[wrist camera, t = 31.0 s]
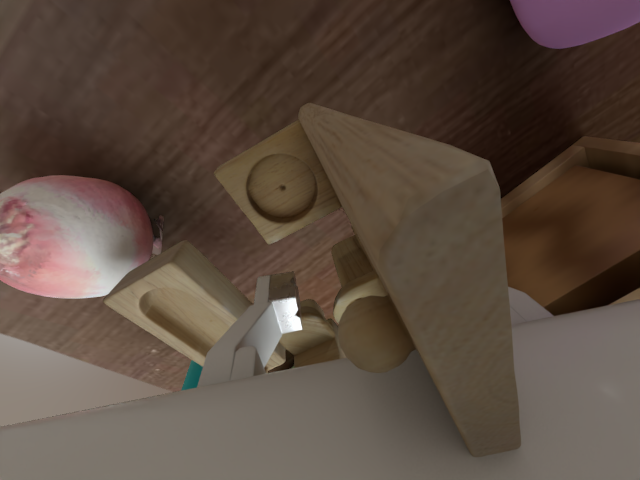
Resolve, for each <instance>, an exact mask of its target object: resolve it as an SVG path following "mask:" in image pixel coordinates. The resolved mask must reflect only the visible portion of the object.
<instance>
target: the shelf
mask: <svg viewBox="0 0 640 480" xmlns="http://www.w3.org/2000/svg"><path fill="white" fill-rule="evenodd" d="M501 209H502V222H503V236H504V248H505V259H506V270H507V281H508V287H511V288H514V289H516V290H519V291H522V292H524V293H526V294H527V295H528V296H530V297H531V298H532V299H533V300H535V301H536V302H537V303H538V304H540V305H541V306H542V307H543V308H545V309H546V310H547V311H548V312H550V313H551V314H552V315H553V316H557V315H562V314H567V313H572V312H577V311H582V310H587V309H592V308H597V307H602V306H607V305H612V304H617V303H622V302H627V301H632V300H637V299H640V143H637V142H629V141H621V140H613V139H605V138H596V137H588V136H583V137H582V138H581V139H579V140H578V141H577V142H575V143H574V144H573V145H572V146H570V147H569V148H568V149H566V150H565V151H564V152H562V153H561V154H560V155H558V156H557V157H556V158H554V159H553V160H552V161H550V162H549V163H548V164H546V165H545V166H544V167H543V168H541V169H540V170H539V171H537V172H536V173H535V174H533V175H532V176H531V177H529V178H528V179H527V180H525V181H524V182H523V183H521V184H520V185H519V186H517V187H516V188H515V189H514V190H512V191H511V192H510V193H508V194H507V195H506V196H504V197H503V198H502V199H501Z"/></svg>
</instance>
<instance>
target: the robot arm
mask: <svg viewBox="0 0 640 480" xmlns="http://www.w3.org/2000/svg"><path fill="white" fill-rule="evenodd" d="M508 292H509V303H510V315H511V326H512V341H513V358H514V372H515V379H516V386H517V393H518V403H519V420H520V433H521V446H520V447H519V448H518V449H515V450H511V451H506V452H502V453H497V454H492V455H487V456H483V457H473V456H472V455H471V453H470V452H469V450H468V448H467V446H466V444H465V442H464V440H463V438H462V436H461V434H460V433H459V431H458V429H457V427H456V425H455V423H454V421H453V419H452V417H451V415H450V413H449V411H448V409H447V407H446V405H445V403H444V401H443V400H442V398H441V396H440V394H439V392H438V390H437V388H436V386H435V384H434V382H433V380H432V378H431V376H430V374H429V372H428V370H427V368H426V367H425V365H424V363H423V361H422V359H421V357H420V355H419V353H418V351H417V350H414V351H412V352H411V353H410V354H409V356H408V357H407V359H406V360H405V361H404V362H403V363H402V364H401V365H400V366H398V367H396V368H394V369H392V370H390V371H388V372H384V373H372V372H367V371H365V370H362V369H359V368H357V367H356V366H355V365H354V364H353V363H352V362H351V361H350V360H349V359H348V358H342V359H337V360H332V361H327V362H322V363H317V364H312V365H307V366H302V367H297V368H292V369H287V370H282V371H277V372H272V373H267V374H266V371H265V369H264V367H265V366H266V364H267V362H268V360H269V358H270V356H271V355H272V353H273V351H274V349H275V347H276V346H277V344H278V342H279V340H280V338H281V336H282V334H285V333H290V332H294V331H299V330H303V329H302V317H301V312H300V309H301V307H300V299H299V292H298V287H297V286H296V278H295V273H294V271H292V272H286V273H279V274H273V275H267V276H261V277H258V279H257V285H256V292H255V300H254V305H251V306H249V308H248V309H247V310H246V311H245V312H244V313H243V314H242V315H241V316H240V317H239V319H238V320H237V321H236V322H235V323H234V324H233V325H232V326H231V327H230V328H229V329H228V331H227V332H226V333H225V334H224V335H223V336H222V337H221V338H220V339H219V340H218V342H217V343H216V344H215V345H214V346H213V347H212V348H211V349H210V350H209V351H208V353H207V355H206V359H205V362H204V365H203V369H202V372H201V375H200V379H199V382H198V386H197V388H192V389H187V390H182V391H177V392H172V393H167V394H162V395H157V396H152V397H147V398H142V399H137V400H132V401H128V402H123V403H117V404H112V405H108V406H103V407H97V408H93V409H88V410H82V411H77V412H73V413H68V414H62V415H57V416H52V417H47V418H42V419H38V420H32V421H28V422H22V423H17V424H12V425H7V426H1V427H0V480H640V299H637V300H632V301H627V302H622V303H617V304H612V305H607V306H602V307H597V308H592V309H587V310H582V311H577V312H572V313H567V314H562V315H557V316H553V315H552V314H551V313H550V312H548V311H547V310H546V309H545V308H543V307H542V306H541V305H540V304H538V303H537V302H536V301H535V300H533V299H532V298H531V297H530V296H528V295H527V294H526V293H524V292H522V291H519V290H516V289H514V288H511V287H508Z"/></svg>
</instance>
